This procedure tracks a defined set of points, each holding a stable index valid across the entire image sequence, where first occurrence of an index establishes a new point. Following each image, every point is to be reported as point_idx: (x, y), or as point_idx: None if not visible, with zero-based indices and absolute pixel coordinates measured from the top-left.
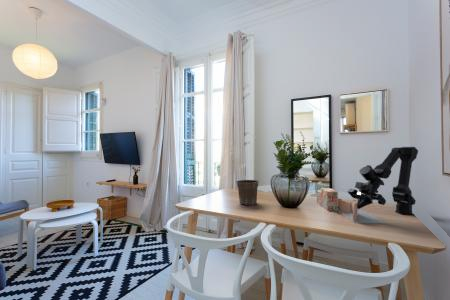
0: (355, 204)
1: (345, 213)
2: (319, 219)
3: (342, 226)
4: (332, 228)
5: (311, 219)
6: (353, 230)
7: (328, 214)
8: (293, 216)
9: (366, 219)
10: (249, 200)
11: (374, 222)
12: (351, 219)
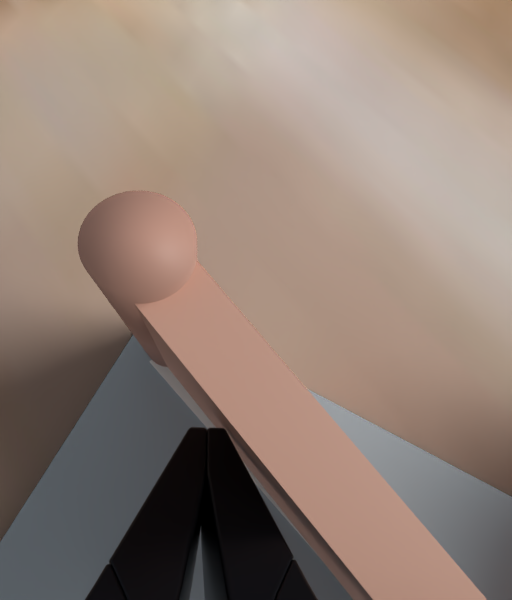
0: (99, 211)
1: (480, 534)
2: (366, 102)
3: (131, 109)
4: (137, 12)
5: (384, 54)
6: (3, 98)
7: (489, 300)
8: (486, 9)
9: None
10: None
11: (6, 560)
12: None
